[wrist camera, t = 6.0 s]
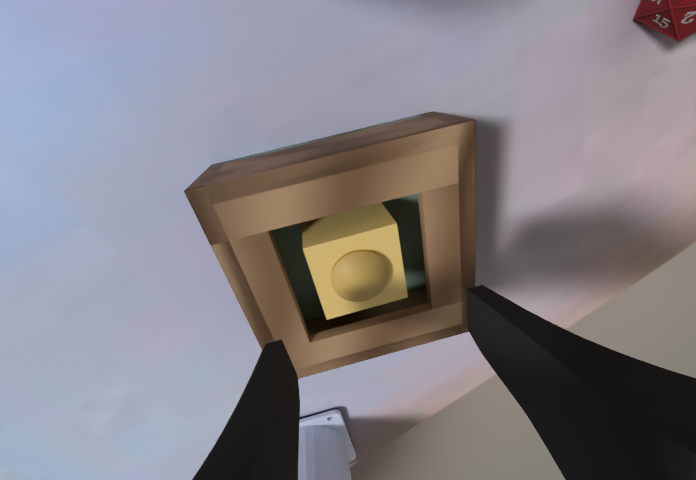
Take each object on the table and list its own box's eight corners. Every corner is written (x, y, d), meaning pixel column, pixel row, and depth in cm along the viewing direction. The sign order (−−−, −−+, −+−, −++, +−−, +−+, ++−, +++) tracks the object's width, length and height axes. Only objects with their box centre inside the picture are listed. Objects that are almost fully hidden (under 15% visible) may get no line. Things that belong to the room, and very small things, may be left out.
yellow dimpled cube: (320, 276, 19) (327, 323, 15) (300, 214, 17) (302, 251, 13) (387, 258, 19) (409, 300, 15) (375, 195, 17) (399, 226, 13)
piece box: (281, 329, 21) (278, 384, 17) (211, 165, 16) (184, 191, 12) (443, 286, 22) (474, 329, 18) (432, 111, 16) (475, 119, 12)
